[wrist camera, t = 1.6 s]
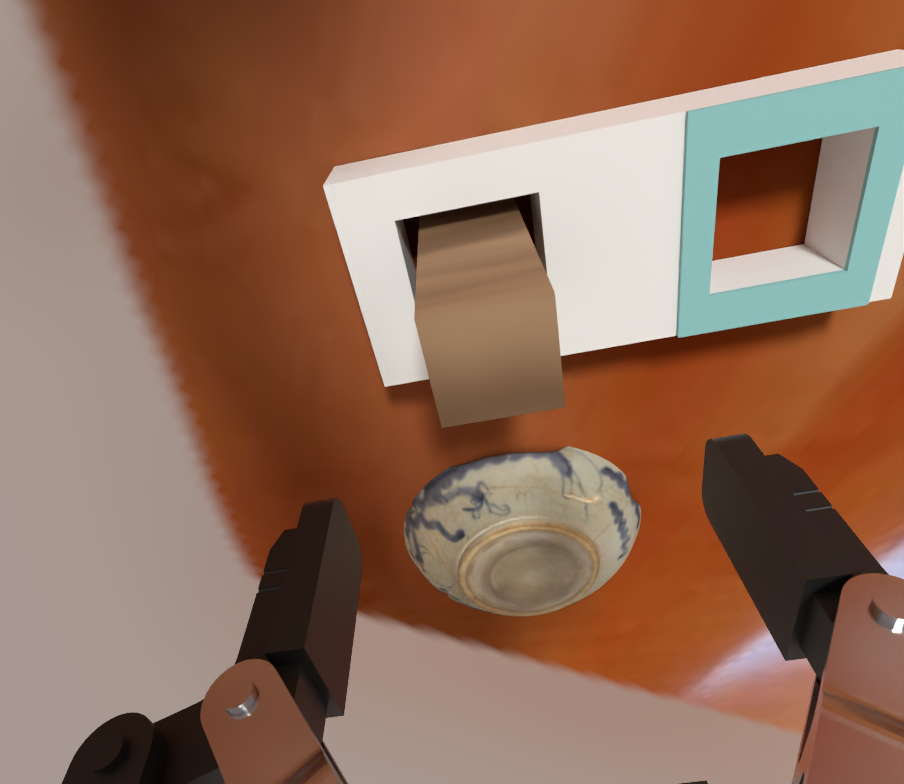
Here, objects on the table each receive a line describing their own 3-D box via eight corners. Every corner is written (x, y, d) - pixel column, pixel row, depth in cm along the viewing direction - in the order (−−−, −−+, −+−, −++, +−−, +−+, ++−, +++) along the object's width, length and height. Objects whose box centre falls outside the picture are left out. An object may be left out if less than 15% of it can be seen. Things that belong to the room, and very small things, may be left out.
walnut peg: (419, 212, 24) (414, 318, 16) (511, 194, 24) (554, 292, 16) (438, 296, 27) (441, 428, 18) (522, 280, 26) (565, 407, 18)
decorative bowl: (689, 491, 35) (482, 398, 30) (713, 538, 32) (488, 443, 27) (548, 619, 42) (364, 559, 38) (558, 667, 39) (359, 609, 35)
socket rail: (334, 166, 23) (321, 187, 20) (897, 49, 21) (962, 55, 19) (388, 353, 28) (384, 389, 26) (848, 270, 26) (894, 300, 24)
